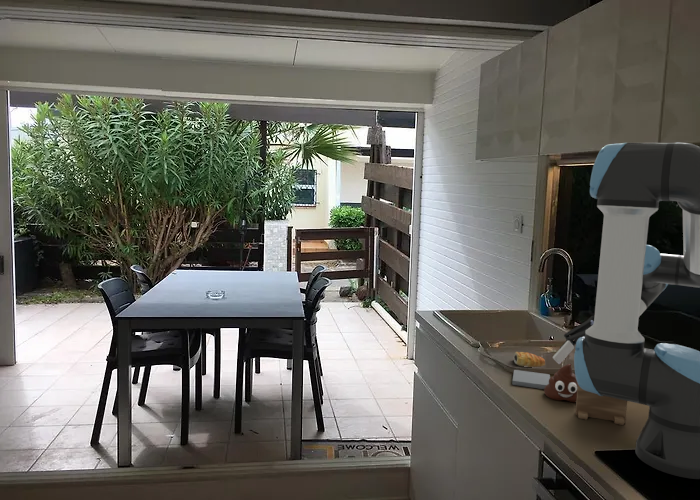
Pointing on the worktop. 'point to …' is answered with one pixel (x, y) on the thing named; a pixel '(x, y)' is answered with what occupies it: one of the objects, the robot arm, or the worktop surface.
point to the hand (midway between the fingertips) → (571, 368)
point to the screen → (600, 407)
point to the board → (530, 379)
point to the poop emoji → (562, 385)
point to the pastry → (528, 359)
